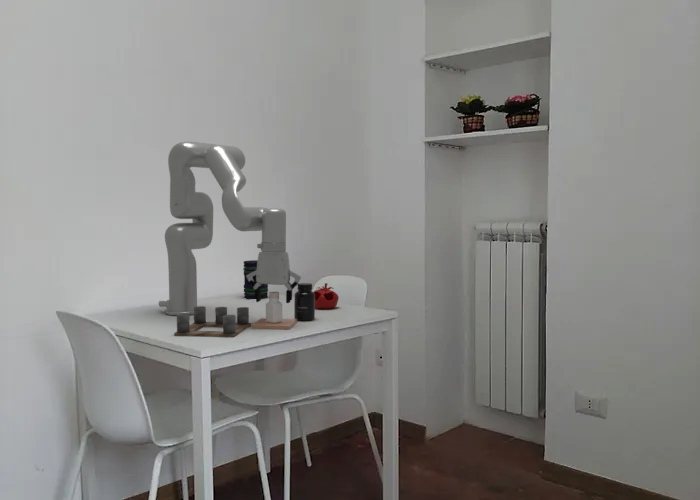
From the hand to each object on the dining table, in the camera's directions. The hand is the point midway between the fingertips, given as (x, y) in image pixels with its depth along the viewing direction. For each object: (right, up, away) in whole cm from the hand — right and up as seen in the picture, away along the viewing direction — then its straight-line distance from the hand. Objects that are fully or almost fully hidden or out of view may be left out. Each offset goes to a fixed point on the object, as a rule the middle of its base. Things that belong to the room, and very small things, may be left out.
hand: (273, 301), depth 203 cm
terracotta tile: (0, -7, 0) cm, 7 cm away
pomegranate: (+15, -5, +34) cm, 37 cm away
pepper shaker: (0, -7, 0) cm, 7 cm away
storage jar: (-14, -3, +59) cm, 61 cm away
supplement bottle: (+9, -7, +10) cm, 15 cm away
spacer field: (-17, -8, -8) cm, 20 cm away
